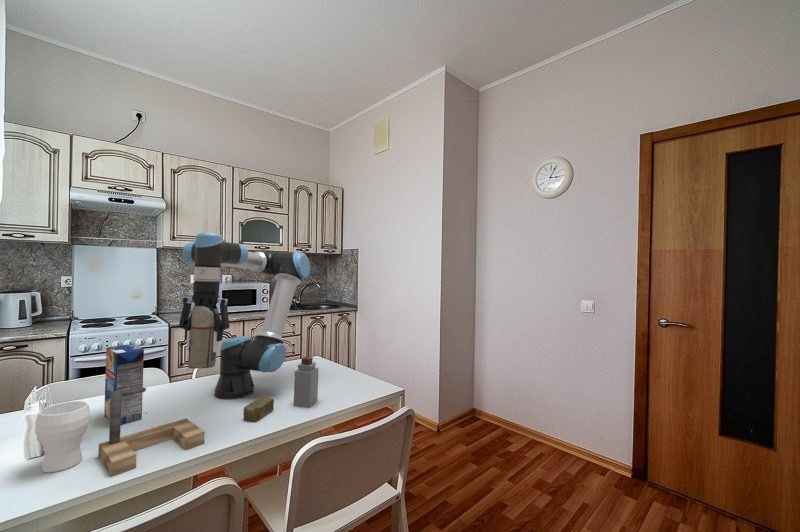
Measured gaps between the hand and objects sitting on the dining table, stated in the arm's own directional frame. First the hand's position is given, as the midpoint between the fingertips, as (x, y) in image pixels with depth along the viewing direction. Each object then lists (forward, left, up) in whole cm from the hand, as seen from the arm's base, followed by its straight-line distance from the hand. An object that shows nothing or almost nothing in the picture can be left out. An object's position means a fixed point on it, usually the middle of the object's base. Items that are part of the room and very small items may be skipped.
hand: (203, 350), depth 113 cm
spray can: (0, 0, -5) cm, 5 cm away
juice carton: (-29, -14, -26) cm, 41 cm away
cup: (-7, -32, -26) cm, 42 cm away
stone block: (+3, +19, -26) cm, 32 cm away
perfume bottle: (+6, +36, -26) cm, 45 cm away
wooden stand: (+2, -14, -26) cm, 29 cm away
